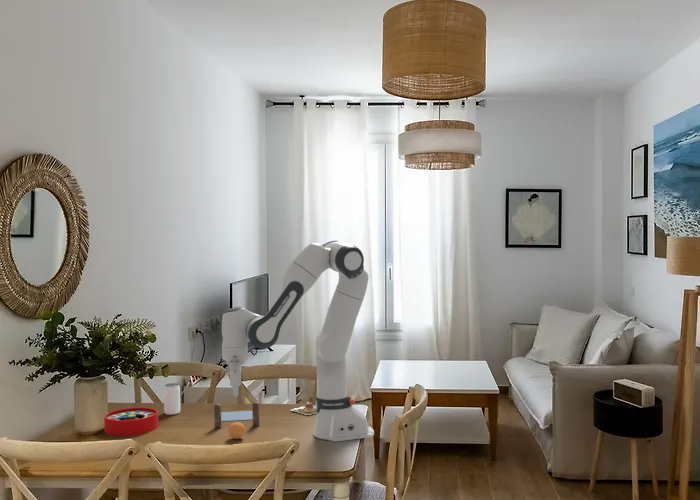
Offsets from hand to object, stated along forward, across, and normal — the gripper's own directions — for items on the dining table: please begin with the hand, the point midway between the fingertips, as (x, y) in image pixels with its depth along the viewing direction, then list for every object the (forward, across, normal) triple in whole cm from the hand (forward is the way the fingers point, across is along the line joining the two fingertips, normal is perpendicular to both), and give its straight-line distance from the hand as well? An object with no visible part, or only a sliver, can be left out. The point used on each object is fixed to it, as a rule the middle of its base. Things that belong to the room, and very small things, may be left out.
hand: (235, 393), depth 238 cm
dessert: (+20, +45, -30) cm, 58 cm away
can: (+19, +54, +27) cm, 63 cm away
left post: (+19, +27, +7) cm, 34 cm away
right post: (+19, +27, -7) cm, 34 cm away
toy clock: (+20, +34, +40) cm, 56 cm away
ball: (+16, +11, 0) cm, 19 cm away
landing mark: (+19, +43, 0) cm, 47 cm away
